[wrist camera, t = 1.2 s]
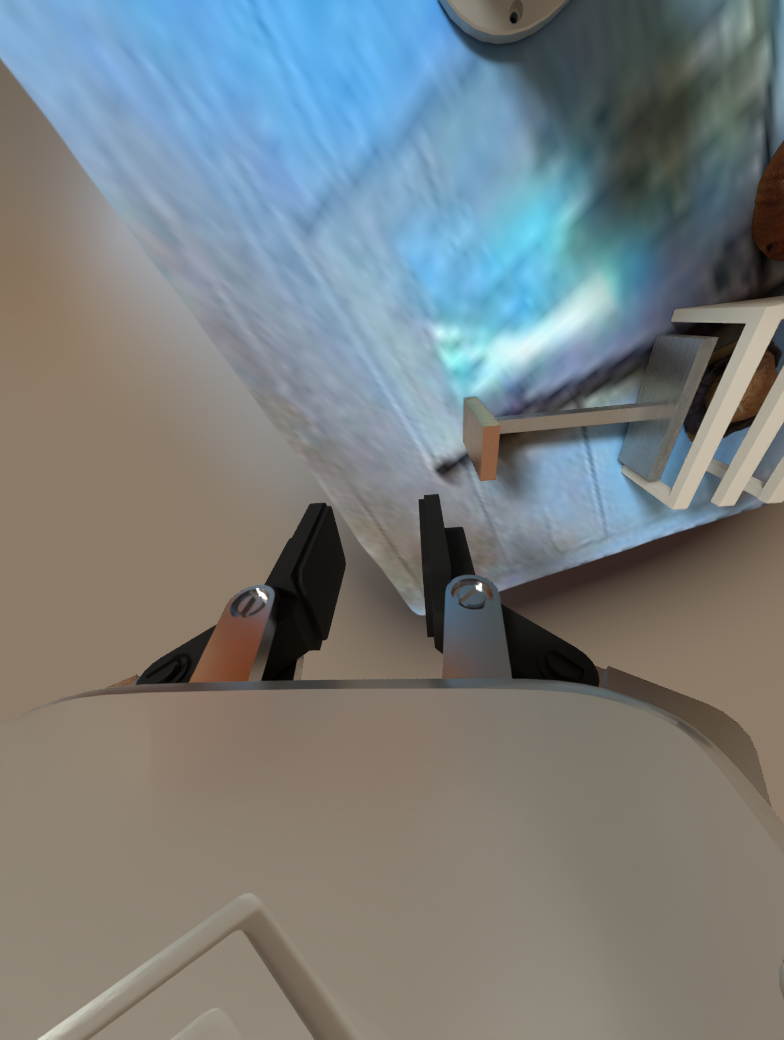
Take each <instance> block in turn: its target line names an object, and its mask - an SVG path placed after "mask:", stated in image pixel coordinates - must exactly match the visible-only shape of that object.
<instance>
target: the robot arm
mask: <svg viewBox="0 0 784 1040" xmlns="http://www.w3.org/2000/svg"><path fill="white" fill-rule="evenodd" d="M439 1H440V3H441V4H442V6H443V7H444V9H445V10H446V12H447V13H448V15H449V17H450V18H451V19H452V20H453V21H454V22H455V23H456V24H457V25H458V26H459V27H460V28H461V29H462V30H463V31H464V32H465V33H467V34H469V35H470V36H472V37H474V38H476V39H478V40H479V41H482V42H488V43H493V44H504V43H511V42H516V41H519V40H521V39H523V38H525V37H527V36H530V35H532V34H534V33H535V32H537V31H538V30H539V29H541V28H542V27H543V26H545V25H546V24H547V23H549V22H550V21H551V20H552V19H553V18H554V17H555V16H556V15H557V14H558V13H559V12H560V11H561V10H562V9H563V8H564V6H565V5H566V4H567V3H568V2H569V1H570V0H439ZM512 17H513V18H515V20H516V24H513V23H511V21H510V18H512ZM419 516H420V535H421V553H422V570H423V584H424V597H425V610H426V622H427V636H428V637H434V641H435V648H436V649H437V650H438V651H440V652H441V653H442V654H443V670H442V679H368V680H367V679H363V680H301V674H302V668H303V662H304V656H303V655H304V654H305V653H307V652H308V651H311V650H320V648H321V644H322V641H323V640H326V639H327V638H328V635H329V631H330V626H331V623H332V619H333V615H334V611H335V606H336V603H337V599H338V595H339V591H340V587H341V583H342V579H343V575H344V571H345V566H346V562H345V556H344V553H343V549H342V545H341V541H340V537H339V533H338V530H337V526H336V522H335V518H334V514H333V510H332V507H331V506H327V505H326V503H314V504H310V505H309V506H308V509H307V510H306V512H305V514H304V516H303V518H302V520H301V522H300V524H299V525H298V527H297V530H296V531H295V533H294V535H293V537H292V538H290V539H289V541H288V542H287V544H286V546H285V548H284V549H283V551H282V553H281V555H280V557H279V559H278V561H277V563H276V564H275V566H274V568H273V570H272V572H271V574H270V575H269V577H268V579H267V581H266V583H265V585H255V586H251V587H248V588H246V589H244V590H242V591H240V592H239V593H237V594H236V595H235V596H234V597H233V598H231V599H230V601H229V602H228V604H227V605H226V607H225V609H224V611H223V613H222V615H221V617H220V619H219V621H218V624H217V625H215V626H213V627H211V628H210V629H208V630H206V631H205V632H203V633H202V634H200V635H198V636H196V637H195V638H193V639H191V640H190V641H188V642H186V643H185V644H183V645H181V646H180V647H178V648H176V649H175V650H173V651H171V652H170V653H168V654H166V655H165V656H163V657H161V658H160V659H159V660H157V661H156V662H154V663H153V664H152V665H151V666H150V667H149V668H148V669H147V670H145V671H144V673H143V674H142V675H141V677H139V676H138V675H135V676H133V677H130V678H128V679H126V680H123V681H121V682H119V683H117V684H114V685H112V686H109V687H107V688H105V689H100V690H94V691H89V692H84V693H81V694H77V695H73V696H69V697H65V698H62V699H59V700H56V701H53V702H51V703H48V704H45V705H42V706H39V707H37V708H35V709H32V710H30V711H28V712H26V713H24V714H21V715H19V716H18V717H16V718H13V719H11V720H9V721H7V722H5V723H4V724H2V725H1V726H0V1040H784V823H783V822H782V821H781V819H780V818H779V817H778V816H777V814H776V813H775V812H774V810H772V808H771V804H770V800H769V796H768V793H767V789H766V785H765V781H764V778H763V774H762V770H761V766H760V763H759V759H758V755H757V751H756V749H755V747H754V744H753V742H752V740H751V738H750V736H749V735H748V734H747V733H746V732H745V731H744V730H743V728H742V727H741V726H740V725H739V724H738V723H737V722H736V721H734V720H733V719H732V718H731V717H729V716H728V715H727V714H725V713H724V712H722V711H720V710H718V709H717V708H715V707H712V706H711V705H709V704H706V703H704V702H701V701H699V700H696V699H693V698H691V697H688V696H685V695H683V694H680V693H678V692H675V691H672V690H670V689H667V688H665V687H662V686H659V685H657V684H654V683H651V682H649V681H646V680H644V679H641V678H639V677H636V676H633V675H631V674H628V673H625V672H623V671H620V670H618V669H615V668H612V667H610V666H608V667H607V669H606V670H605V669H603V668H600V667H598V666H595V665H594V664H593V662H592V661H591V660H590V659H589V658H588V657H587V655H586V654H584V653H583V652H581V651H580V650H579V649H577V648H576V647H574V646H572V645H571V644H569V643H567V642H566V641H564V640H562V639H561V638H559V637H557V636H555V635H554V634H552V633H550V632H548V631H547V630H545V629H543V628H542V627H540V626H538V625H536V624H535V623H533V622H531V621H530V620H528V619H526V618H524V617H523V616H521V615H519V614H518V613H516V612H514V611H512V610H511V609H509V608H507V607H505V606H504V605H502V604H501V602H500V596H499V592H498V589H497V588H496V586H495V585H494V584H493V583H492V582H490V581H489V580H487V579H486V578H483V577H481V576H477V575H475V572H474V568H473V564H472V560H471V556H470V553H469V549H468V545H467V541H466V537H465V533H464V530H463V527H453V528H444V522H443V517H442V511H441V505H440V499H439V494H433V495H424V499H419Z"/></svg>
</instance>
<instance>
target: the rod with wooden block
mask: <svg viewBox="0 0 784 1040" xmlns="http://www.w3.org/2000/svg"><path fill="white" fill-rule="evenodd" d="M718 338H719V337H708V336H693V335H678V334H666V335H657V337H656V340H655V344H654V347H653V350H652V353H651V356H650V359H649V362H648V366H647V369H646V372H645V375H644V378H643V381H642V385H641V388H640V391H639V394H638V397H637V400H636V403H634V404H624V405H614V406H604V407H594V408H584V409H573V410H563V411H553V412H543V413H533V414H523V415H512V416H502V417H493V416H492V414H491V413H490V412H489V411H488V410H487V409H486V407H485V406H484V405H483V404H482V403H481V401H480V400H479V399H478V398H477V397H469V398H464V412H463V442H464V445H465V447H466V449H467V452H468V454H469V456H470V459H471V461H472V463H473V465H474V468H475V470H476V472H477V475H478V477H479V479H480V481H486V480H496V472H497V460H498V449H499V437H500V434H504V433H514V432H525V431H536V430H547V429H557V428H568V427H579V426H590V425H601V424H611V423H622V422H630V423H629V426H628V429H627V432H626V435H625V438H624V441H623V445H622V448H621V451H620V454H619V457H618V460H619V461H621V462H622V463H624V464H625V465H627V466H628V467H630V468H631V469H632V470H634V471H635V472H637V473H638V474H640V475H641V476H643V477H644V478H646V479H647V480H655V479H660V478H661V475H662V473H663V471H664V468H665V466H666V463H667V461H668V459H669V456H670V454H671V451H672V449H673V446H674V444H675V442H676V439H677V437H678V434H679V432H680V429H681V427H682V425H683V422H684V420H685V417H686V415H687V413H688V410H689V408H690V405H691V403H692V400H693V398H694V396H695V393H696V391H697V388H698V386H699V384H700V381H701V379H702V376H703V374H704V371H705V369H706V367H707V364H708V362H709V359H710V357H711V354H712V352H713V350H714V347H715V345H716V342H717V340H718Z"/></svg>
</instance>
